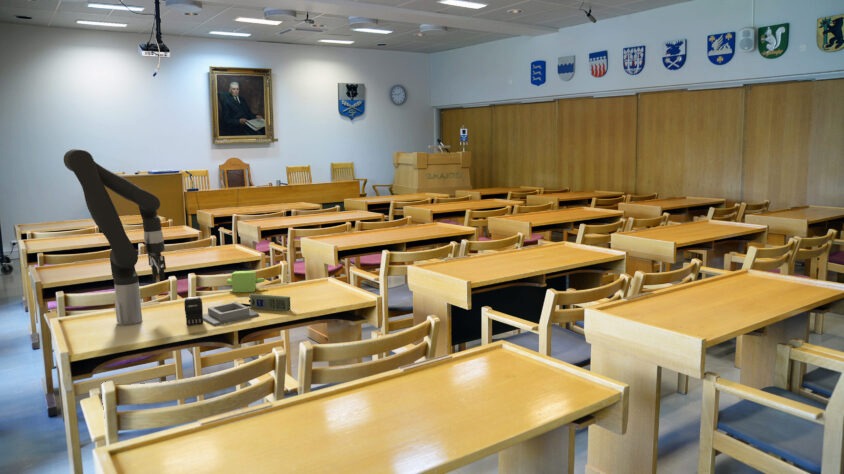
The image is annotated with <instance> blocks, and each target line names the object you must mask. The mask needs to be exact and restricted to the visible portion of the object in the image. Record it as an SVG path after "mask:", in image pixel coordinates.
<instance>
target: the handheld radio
mask: <svg viewBox="0 0 844 474" xmlns="http://www.w3.org/2000/svg"><path fill="white" fill-rule="evenodd" d="M248 299H249V300H248V303H244V302H242V303H240V304H242V305H244V306H246V307H248V308H250V310H251V309H253V310H262V309H263V310H265V311H274V310H277V312H286V311H289V310H290V311H291V297H290V296H284V295H283V296H282V295H272V294H259V293H258V294H257V293H256V294H255V293H248ZM290 311H289V312H290Z"/></svg>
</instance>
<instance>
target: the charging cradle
mask: <svg viewBox="0 0 844 474" xmlns="http://www.w3.org/2000/svg"><path fill="white" fill-rule="evenodd" d="M259 316H260V314H259V313H257V312H256V311H254V310H251V308H250V307H249V306H248V307H246V306H244V305H242V304H241V303H240V302H237V301H234V302H228V303H225V304H219V305H218V304H217V305H214V306H210V307H207V313H203V322H207V323H209V324H210V325H212V326H213V325H214V326H213V327H217V326H221V325H224V323H226V324H230V323H233V322H238V320H239V321H243V320H247V319H252V318H255V317H256V318H257V317H259ZM229 322H230V323H229ZM220 324H221V325H220ZM216 325H217V326H216Z"/></svg>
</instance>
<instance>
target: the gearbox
mask: <svg viewBox="0 0 844 474" xmlns="http://www.w3.org/2000/svg"><path fill="white" fill-rule="evenodd" d="M256 274H257V273H256V270H241V271H239V270H238V271H232V274H231V278H227V280H226V284H227V285H231V287H232V288H231V289H232V293H249V292H252V293H253V292H255V291H256V290H255V289H257V284H259V283H264V282H265V278H264V277H259V278H258V277H257V278H256Z"/></svg>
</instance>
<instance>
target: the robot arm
mask: <svg viewBox="0 0 844 474" xmlns="http://www.w3.org/2000/svg"><path fill="white" fill-rule="evenodd" d="M63 164H64V166H65V167H66V168H67V169H68V170H69V171H71V172H73V173H74V175H75V177H76V178H77V180H78V182H79V184H80V186H81V189H82V191H83V196H84V200H85V204H86V206H87V209H88V212H89V214H90V216H91V218H92V220H93V221H94V223H95V225H96V226H97V228H98V229H99V231H100V232H101V233H102V234H103V236H104V237H105V239H106V240H107V242H108V244H109V247H110V248H111V249H110V253H109V262H110V270H111V275H112V279H113V283H114V293H115V301H114V308H115V316H116V318H115V319H116V323H117V322H118V323H119V324H118V323H117V324H118V325H119V326H121V325H122V326H132V325H136V324H139V323H141V322H143V314H142V313H143V312H142V304H141V293H140V284H139V275H138V273H137V270H136V265H137V263H138V260H139V254H138V251H137V250H136V248H135V247H134V245H133V244H132V242H131V240H130V238H129V237H128V235H127V233H126V230H125V228H124V226H123V222H122V219H121V218H120V216H119V213H118V210H117V208H116V206H115V205H114V202H113V200H112V198H111V197H110V194H109V193H108V191H107V189H109V190H110V191H112V192H113V193H115V194H116V195H118V196H120V197H122V198H124V199H125V200H127V201H130V202H132V203H134V204H136V205H137V206H138V210H139V212H140V217H141V220H142V227H143V239H144V247H145V253H147V258H148V265H149V266H150V268H151V273H152V274H151V275H152V276H153V277H156V276H158V277H159V278H158V279H159V280H161V281H162V280H165V279H166V276H165V270H166V269H167V265H166V257H165V255H162V252H164V251H165V249H166V248H165V241H164V239H165V238H164V234H163V231H162V222H161V218H160V216H158V212H157V211H158V210H159V209H160V207H161V200H160V199H159V197H158V196H156V195H154V193H151V192H149V191H147V190H145V189H143V188H141V187H140V186H138V185H136V184H135V183H134V182H131V181H129V180H128V179H127V178H125V177H123V176H121V175H119V174H118V173H115V172H113V171H111V170H108V169H107V168H105V167H103V166H102V165H100V164H98V163H97V162H96V161H95V160H94V157H93V155H92V154H91V153H90V152H89V151H87V150H85V149H81V148H73V149H70V150H67V151H66V152H65V154H64V155H63Z"/></svg>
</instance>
